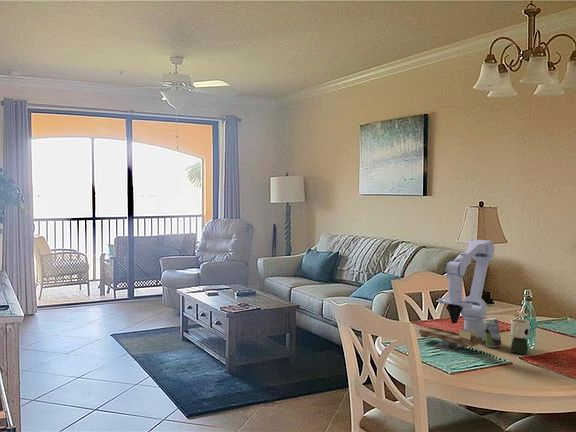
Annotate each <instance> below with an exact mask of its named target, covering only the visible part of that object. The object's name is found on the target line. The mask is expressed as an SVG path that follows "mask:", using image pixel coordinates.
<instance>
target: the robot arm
mask: <svg viewBox="0 0 576 432" xmlns="http://www.w3.org/2000/svg"><path fill="white" fill-rule="evenodd" d="M467 244H468V245H467V249H465V251H464V252H460V253H459V254H458V255H457V256H456V258H454V259H453V260H452V261H451V260H450V261H449V262H447V263H446V266H445V273H446V279H447V298H444V297H439V298H438V304H444V305H446V309H447V311H448V314H449V317H450V321H451V324H457V323H458V321H459V317H460V315H461V317H462V319H464V321H463V329H466V328H467V329H471V330H475V331H477V338H478V337H482V341H483V342H484V341H485V342H486V340H485V331H484V323H483V322H484V319H486V318H485V317H486V315H487V302H485V300H484V299H483V298H482V296H483V290H484V286H485V281H486V276H487V272H488V266H489V262H491V261H492V260H493V258H494V252H495V244H494V242H493V241H492V240H490V239H489V240H484V239H473V238H471V239H470V240H469V241H468V243H467ZM472 259H473V260H475V262H476V264H475V267H474V272H473V273H474V274H473V278H472V281H471V287H470V291H469V295H468V296H467V297H465V298H463V282H464V281H463V276H465V274H466V271H467V267H468V266H469V265H470V264H471V263H472Z"/></svg>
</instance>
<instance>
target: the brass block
mask: <svg viewBox="0 0 576 432" xmlns="http://www.w3.org/2000/svg"><path fill="white" fill-rule="evenodd" d="M458 333H459V339H463V340H467V341H471V340H472V339H475V338H477V331H475V330H471V329H467V328H466V329H464V328H463V329H460V330H459V332H458Z"/></svg>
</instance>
